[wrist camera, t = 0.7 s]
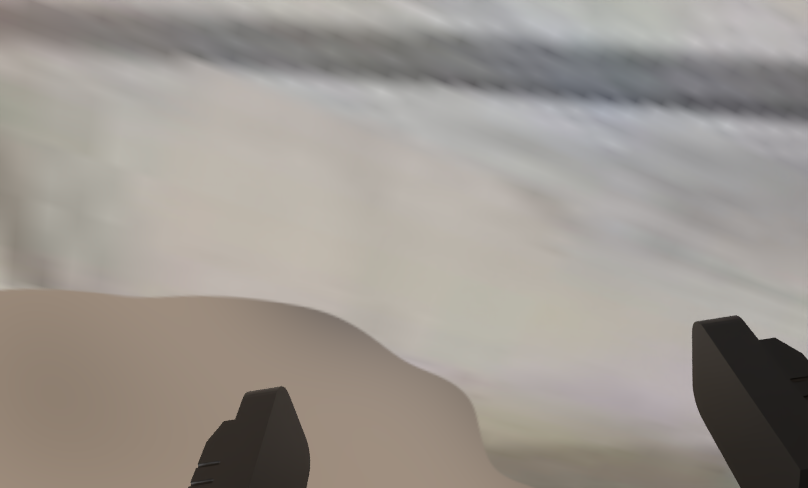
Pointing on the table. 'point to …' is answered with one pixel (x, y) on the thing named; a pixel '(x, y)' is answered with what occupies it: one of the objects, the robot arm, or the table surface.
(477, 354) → the table surface
